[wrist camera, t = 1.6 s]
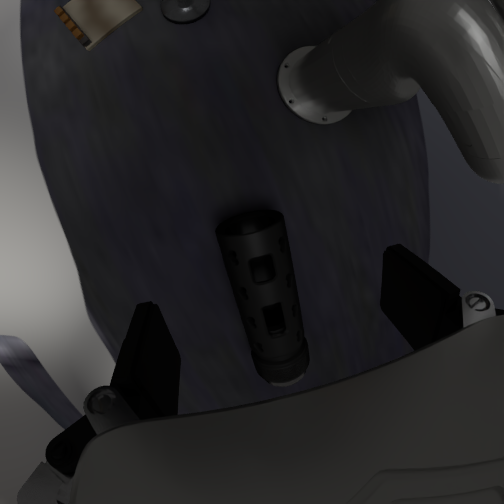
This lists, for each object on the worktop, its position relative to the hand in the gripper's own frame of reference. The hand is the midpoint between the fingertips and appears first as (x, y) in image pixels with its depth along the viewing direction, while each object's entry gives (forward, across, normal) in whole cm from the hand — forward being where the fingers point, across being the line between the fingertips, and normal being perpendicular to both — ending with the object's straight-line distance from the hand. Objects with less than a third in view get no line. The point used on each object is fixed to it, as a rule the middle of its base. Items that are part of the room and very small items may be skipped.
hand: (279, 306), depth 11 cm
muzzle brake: (+31, -2, +19) cm, 37 cm away
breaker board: (+32, +15, -33) cm, 48 cm away
